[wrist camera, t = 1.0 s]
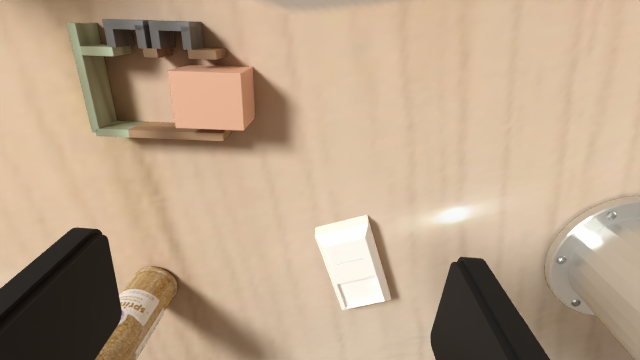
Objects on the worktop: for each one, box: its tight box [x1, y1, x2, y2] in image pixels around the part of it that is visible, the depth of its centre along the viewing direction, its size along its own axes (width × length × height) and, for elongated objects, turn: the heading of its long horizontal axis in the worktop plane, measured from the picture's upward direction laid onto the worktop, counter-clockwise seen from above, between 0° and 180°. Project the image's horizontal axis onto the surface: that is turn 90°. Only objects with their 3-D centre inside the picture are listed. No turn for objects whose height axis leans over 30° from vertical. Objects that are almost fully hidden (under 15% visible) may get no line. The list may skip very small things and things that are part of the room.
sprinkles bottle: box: [95, 267, 177, 360], centre depth 31 cm, size 5×5×14 cm
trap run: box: [66, 19, 232, 141], centre depth 27 cm, size 10×8×2 cm
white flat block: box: [315, 215, 391, 310], centre depth 34 cm, size 5×9×3 cm, turn 17°
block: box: [168, 65, 255, 131], centre depth 27 cm, size 5×4×4 cm
